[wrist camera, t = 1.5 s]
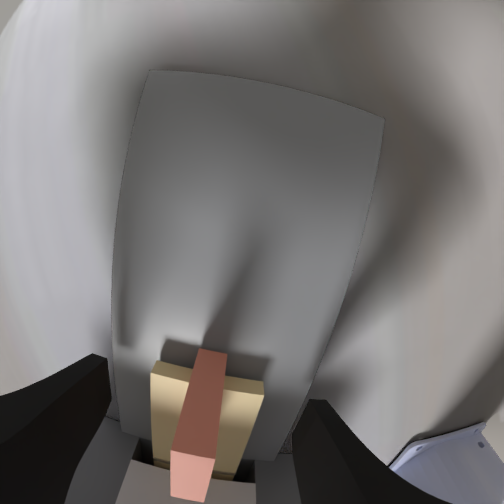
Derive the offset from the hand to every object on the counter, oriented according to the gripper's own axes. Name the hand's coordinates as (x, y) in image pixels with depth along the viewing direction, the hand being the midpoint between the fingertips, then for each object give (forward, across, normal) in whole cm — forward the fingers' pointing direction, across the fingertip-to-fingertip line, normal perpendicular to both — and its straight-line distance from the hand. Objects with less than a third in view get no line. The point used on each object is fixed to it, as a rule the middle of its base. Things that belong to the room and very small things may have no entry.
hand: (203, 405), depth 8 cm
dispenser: (+2, 0, +2) cm, 3 cm away
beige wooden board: (+1, 0, +5) cm, 6 cm away
